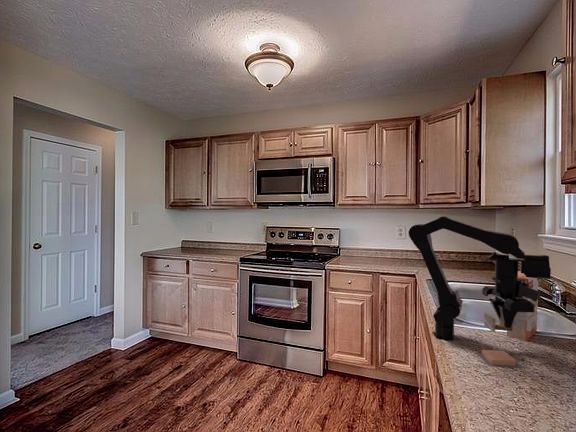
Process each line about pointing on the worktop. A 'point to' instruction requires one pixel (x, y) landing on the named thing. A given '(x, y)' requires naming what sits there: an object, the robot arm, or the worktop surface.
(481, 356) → the slate mat
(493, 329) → the walnut turner
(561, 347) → the worktop surface
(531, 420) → the worktop surface
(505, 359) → the glazed tile
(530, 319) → the cracker box
